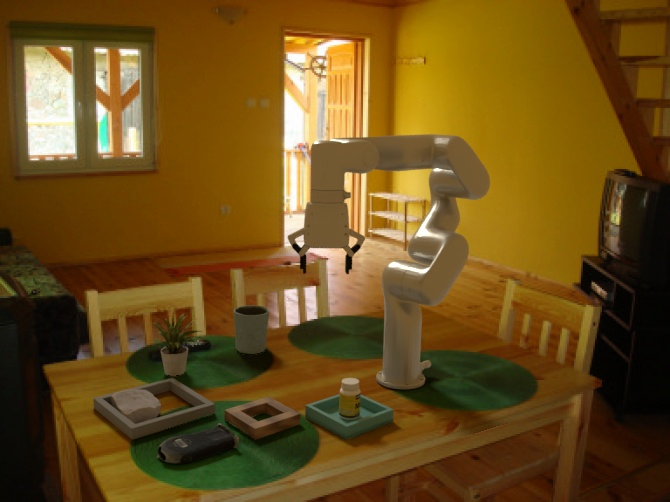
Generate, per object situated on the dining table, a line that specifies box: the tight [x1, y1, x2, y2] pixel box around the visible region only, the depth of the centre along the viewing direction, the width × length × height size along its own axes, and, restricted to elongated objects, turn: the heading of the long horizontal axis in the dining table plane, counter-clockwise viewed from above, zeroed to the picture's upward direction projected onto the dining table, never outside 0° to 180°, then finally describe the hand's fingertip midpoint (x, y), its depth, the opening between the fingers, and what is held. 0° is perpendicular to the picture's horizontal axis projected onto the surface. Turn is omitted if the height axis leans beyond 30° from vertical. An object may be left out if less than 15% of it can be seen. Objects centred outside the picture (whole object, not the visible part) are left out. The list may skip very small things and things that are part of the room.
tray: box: [304, 393, 394, 441], centre depth 157 cm, size 14×14×3 cm
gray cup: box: [233, 304, 270, 355], centre depth 200 cm, size 10×10×12 cm
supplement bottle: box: [339, 377, 362, 420], centre depth 156 cm, size 5×5×8 cm
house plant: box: [145, 311, 204, 377], centre depth 180 cm, size 14×14×16 cm
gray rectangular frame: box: [92, 377, 216, 440], centre depth 159 cm, size 20×20×2 cm
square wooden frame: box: [224, 396, 301, 441], centre depth 155 cm, size 12×12×2 cm
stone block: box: [111, 388, 162, 424], centre depth 159 cm, size 12×5×10 cm
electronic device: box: [156, 423, 240, 465], centre depth 142 cm, size 9×6×15 cm
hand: (325, 272), depth 158 cm, fingers open, 9 cm apart
